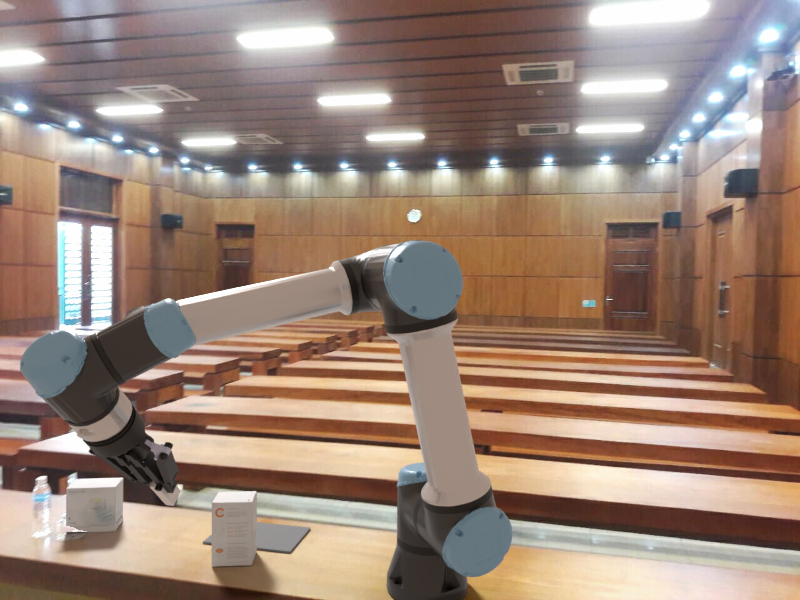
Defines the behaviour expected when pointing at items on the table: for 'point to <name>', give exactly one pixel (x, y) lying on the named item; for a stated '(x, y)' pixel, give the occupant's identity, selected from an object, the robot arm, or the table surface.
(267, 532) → the mat
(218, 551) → the small box
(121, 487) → the skincare box
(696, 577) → the table surface
